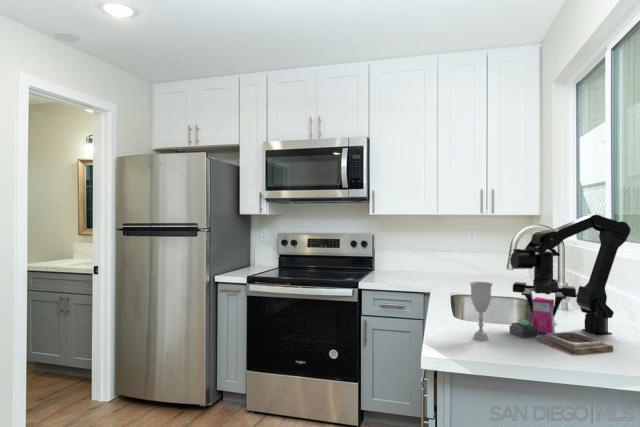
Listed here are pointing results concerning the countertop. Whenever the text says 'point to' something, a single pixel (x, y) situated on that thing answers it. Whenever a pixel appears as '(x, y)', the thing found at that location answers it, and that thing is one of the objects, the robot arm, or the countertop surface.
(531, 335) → the control block
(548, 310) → the supplement box
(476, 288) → the chalice
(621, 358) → the countertop surface
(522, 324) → the button
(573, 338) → the wooden picture frame
